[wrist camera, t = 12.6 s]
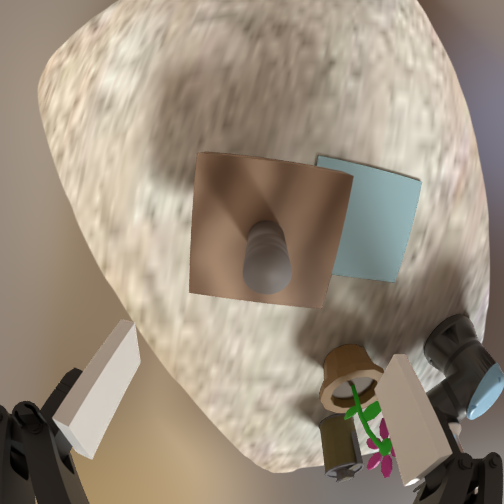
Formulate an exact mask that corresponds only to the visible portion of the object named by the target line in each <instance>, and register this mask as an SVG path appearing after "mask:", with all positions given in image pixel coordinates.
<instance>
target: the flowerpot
mask: <svg viewBox="0 0 504 504" xmlns="http://www.w3.org/2000/svg"><path fill="white" fill-rule="evenodd" d="M383 373H384V370H383V368H381V367H379V366H377V365H376V364H374V363H373V362H372V360H371V358H370V357H369V355H368V354H367V352H366V351H365V349H364V348H362V347H360V346H359V345H357V344H345V345H343V346H340V347H338V348H335V349H334V350H333V351H331V352H330V353H329V354H328V355H327V356H326V359H325V362H324V381H323V383H322V386H321V389H320V392H319V395H320V401H321V402H322V404H323V406H324V408H325V409H326V410H329V411H332V412H335V413H346V414H345V417H344V419H345V420H346V419H348V418H350V417H352V416H354V415H355V414H356V413H357V412H358V415H359V418H360V420H361V422H362V424H363V426H364V429H365V431H366V433H367V434H368V436H369V437H370V438H369V439H367V442H366V443H367V445H368V447H369V448H372V449H378V448H379V452H378V453H375V454H374V455H373V456H372V457H371V458H370V460H369V462H368V465H367V468H368V470H370V469H373V468H375V467H376V466H377V465H378V464H379V463H380V461H381V458H382V456H384V458H383V460H382V462H381V472H382V473H383V475H384V477H385V478H386V477H389V476H390V473H391V470H392V459H391V458H390V456H389V454H390V452H391V454H392V456H394V457H396V456H395V452H394V449H393V445H392V442H391V439H389V438H388V435H389V432H388V429H387V426H386V423H385V420H384V418H382V420H381V423H380V426H379V428H380V436H381V437H382V439H383V441H382V442H381V441H380V439H379V438H376V436H375V435H374V434H373V432H372V431H371V430H370V428H369V425H368V423H367V421H369V420H372V419H374V418H375V417H376V416H377V415H378V414H379V413H380V412H381V411H382V410H381V407H380V404H379V402H378V399H377V396H376V393H375V390H374V389H375V387H376V385H377V384H378V382H379V380H380V379H381V377H382V375H383ZM366 407H367V408H366ZM363 408H366V410H365V411H364V412H362V409H363Z"/></svg>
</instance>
